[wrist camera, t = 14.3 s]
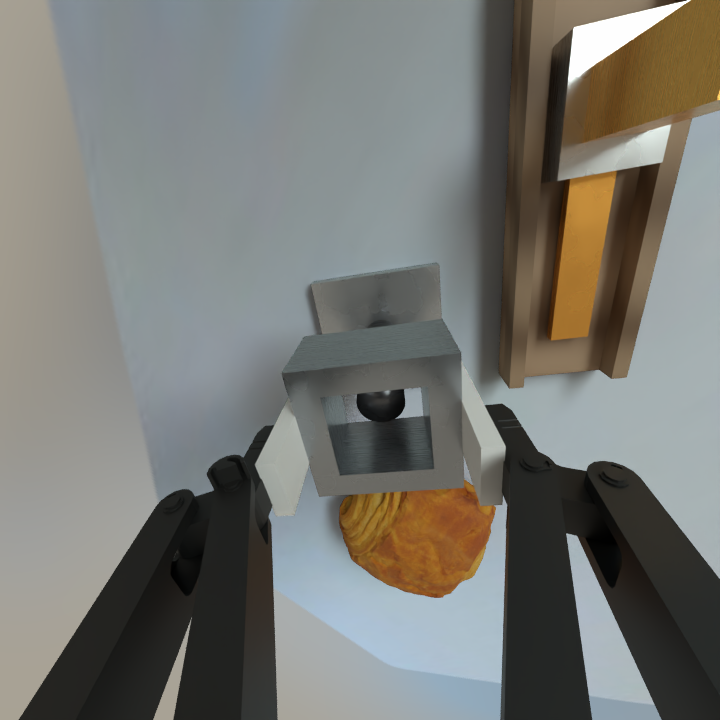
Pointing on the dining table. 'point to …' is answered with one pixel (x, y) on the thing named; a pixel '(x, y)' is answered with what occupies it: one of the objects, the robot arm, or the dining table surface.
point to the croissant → (418, 537)
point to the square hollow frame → (375, 439)
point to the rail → (543, 212)
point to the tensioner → (617, 126)
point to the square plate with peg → (379, 315)
